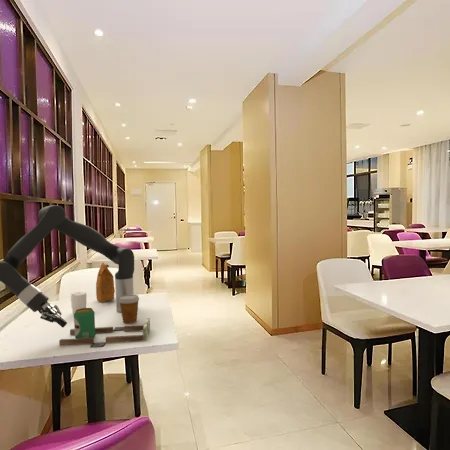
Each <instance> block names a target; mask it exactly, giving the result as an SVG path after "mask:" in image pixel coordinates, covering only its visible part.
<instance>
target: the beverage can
mask: <svg viewBox="0 0 450 450" xmlns="http://www.w3.org/2000/svg"><path fill="white" fill-rule="evenodd" d="M95 322H96V321H95V311H94V308H92V307H86V308H81V309H78V310H76V311H75V313H74V314H73V324H74V329H75V334H74V339H75V338H92V337H94V338H95V336H96V333H95V328H96V323H95Z"/></svg>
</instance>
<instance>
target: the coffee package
mask: <svg viewBox="0 0 450 450" xmlns="http://www.w3.org/2000/svg"><path fill="white" fill-rule="evenodd" d="M109 267H110V265H109V264H105V263H104V262H101V264H100V266H99V270H98V272H97V276H96V282H95V291H96V292H95V295H96V300H97V302H98V301H99V303H105V302H108V301H109V302H110V301H113V300H115V294H116V288H115V281H114V279H115V278H114V275H113V274H112V272H111V270H109Z"/></svg>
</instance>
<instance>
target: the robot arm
mask: <svg viewBox="0 0 450 450" xmlns="http://www.w3.org/2000/svg"><path fill="white" fill-rule="evenodd" d="M66 213H67V212H66V210H65V208H63V206H61V205H58V204H56V205H55V204H52V205H48V206H44V207H42V208H41V209H40V210H39V211H38V214H37V216H38V219H39V222H38V223H37V224H36V225H35V226H34V227H33V228H32V229H30V231H28V232H27V233H26V234H24V235H23V236H22V237H21V238H20V239H18V241H16V242H15V244H14V245H13V246H12V247H11V248H10V249H9V250H8V252H7V253H6V256H5V257H4V258H3V260H0V282H2V284H4V285H5V286H6V287H7V289H8V290H9V291H10V292H11V293H13V294H14V295H15V296H16V297H17V298H18V300H20V301H21V302H22V303H23V304H24V305H25V306H26V307H28V309H30V310H31V311H32V312H33V313H36V312H39V314H41V315H40V319H42V320H44V321H47V322H48V323H49V322H50V323H52V324H53V323H56V324H58V325H59V326H60V327H61V328H65V326H67V324H68V322H67V321H66V320H65V319H64V318H62V316H63V315H62V312H61V311H60V308H59V307H58V305H57V304H55V305H53V304H51V303H50V302H48V301H49V297H48V296H47V295H46V294H44V293H43V291H41V290H40V289H39V288H38V287H36V286H35V285H33V284H32V283H31V282H30V281H29V280H28V279H26V278H25V277H23V276H22V275H21V274H20V272H19V271H18V268H19V267H20V266H21V264H22V263H24V261H25V260H26V259H27V258H28V256H30V254H31V253H32V252H33V250H35V249H36V247H37V246H38V245H39V244H40V243H41V242H42V241H44V239H45V238H46V237H47V236H48V235H49V234H50V233H51V232H52V231H54V230H56V231H58V232H60V233H62V234H63V235H66V236H67V237H69V238H71V239H73V240H74V241H75V242H77V243H79V244H80V245H82V246H84V247H86V248H88V249H90V250H92V251H94V252H96V253H98V254H100V255H102V256H104V257H105V258H107V259H109V261H111V262H112V263H114V264H116V265H118V269H117V272H115V274H114V279H115V281H114V287H115V299H116V300H115V309H116V312H118V313H121V307H120V303H119V298H120V297H121V296H124V295H135V294H134V273H135V254H134V251H133V250H132V249H131V248H127V247H122V246H121V247H120V246H117V245H116V244H113V243H112V242H110V241H109V240H107V238H106V237H105V236H104V235H103V234H101V232H99V231H98V230H95V229H94V228H92V227H91V226H89V225H86V224H83V223H80V222H76V221H74V220H71V219H70V218H68V217H66V216H67V214H66Z"/></svg>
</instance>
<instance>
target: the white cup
mask: <svg viewBox="0 0 450 450" xmlns="http://www.w3.org/2000/svg"><path fill="white" fill-rule="evenodd" d="M69 297H70V302H71V311H72V314H73V315H74V313H75V311H76V310H78V309H81V308H87V292H86V291H79V292H78V291H76V292H73V293H70V296H69Z"/></svg>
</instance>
